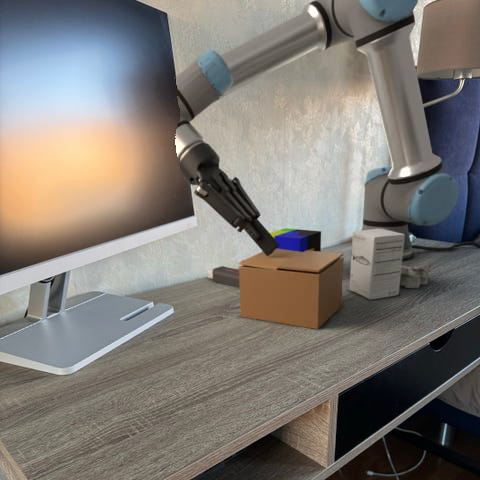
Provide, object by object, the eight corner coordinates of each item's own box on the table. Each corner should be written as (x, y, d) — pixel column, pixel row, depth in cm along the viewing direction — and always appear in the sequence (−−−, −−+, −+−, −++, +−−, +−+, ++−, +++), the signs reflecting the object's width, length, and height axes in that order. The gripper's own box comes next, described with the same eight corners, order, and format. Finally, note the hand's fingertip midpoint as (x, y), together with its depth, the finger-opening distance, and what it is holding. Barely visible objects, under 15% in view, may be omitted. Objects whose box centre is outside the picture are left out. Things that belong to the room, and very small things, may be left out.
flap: (239, 264, 79) (239, 262, 79) (270, 249, 89) (270, 247, 89) (276, 270, 75) (276, 268, 75) (305, 254, 86) (305, 252, 86)
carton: (240, 316, 82) (238, 262, 79) (271, 296, 93) (270, 247, 89) (317, 329, 75) (319, 270, 71) (341, 305, 86) (343, 253, 82)
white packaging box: (348, 290, 94) (351, 231, 90) (377, 285, 97) (382, 227, 92) (369, 300, 88) (373, 236, 83) (400, 295, 90) (406, 233, 86)
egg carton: (432, 283, 97) (434, 265, 95) (412, 290, 93) (414, 271, 91) (390, 274, 105) (391, 257, 103) (370, 280, 101) (371, 262, 99)
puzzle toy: (299, 282, 102) (299, 238, 98) (263, 276, 107) (262, 234, 104) (320, 272, 109) (321, 231, 105) (285, 267, 115) (285, 228, 111)
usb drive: (242, 288, 99) (241, 276, 98) (205, 279, 107) (204, 268, 106) (257, 282, 103) (256, 271, 102) (220, 274, 110) (219, 264, 109)
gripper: (201, 169, 91) (275, 256, 89) (160, 173, 81) (243, 271, 79) (222, 140, 87) (300, 231, 85) (181, 140, 76) (270, 243, 74)
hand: (273, 250), depth 82 cm, fingers closed
